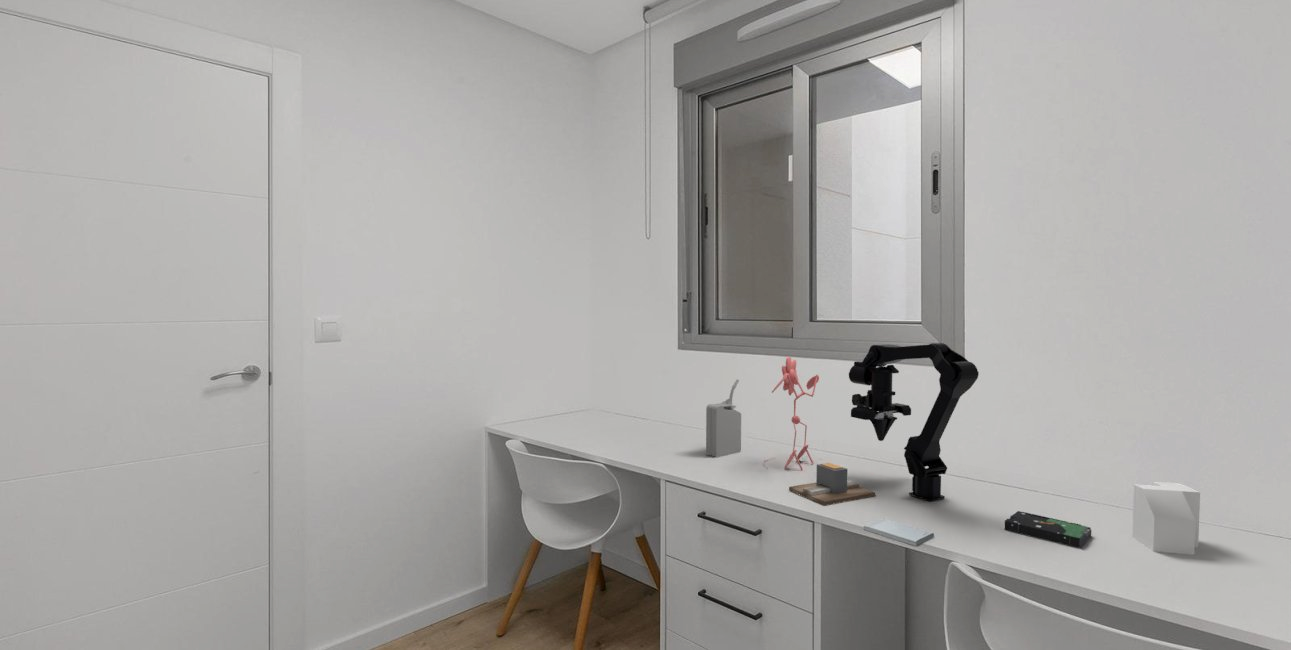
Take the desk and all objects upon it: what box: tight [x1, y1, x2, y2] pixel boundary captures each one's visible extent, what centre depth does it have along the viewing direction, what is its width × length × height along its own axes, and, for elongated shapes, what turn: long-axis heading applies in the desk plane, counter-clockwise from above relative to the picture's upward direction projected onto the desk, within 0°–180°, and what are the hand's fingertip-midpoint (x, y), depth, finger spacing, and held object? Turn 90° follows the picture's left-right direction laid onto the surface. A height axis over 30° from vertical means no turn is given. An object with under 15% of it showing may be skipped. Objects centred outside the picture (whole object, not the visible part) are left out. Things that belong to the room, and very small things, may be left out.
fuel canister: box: [705, 379, 742, 458], centre depth 212 cm, size 15×5×25 cm, turn 130°
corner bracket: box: [1131, 481, 1201, 555], centre depth 133 cm, size 11×11×12 cm
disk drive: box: [1004, 510, 1092, 549], centre depth 139 cm, size 10×3×15 cm
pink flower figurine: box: [762, 356, 823, 471], centre depth 198 cm, size 15×26×35 cm, turn 143°
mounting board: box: [788, 479, 877, 506], centre depth 168 cm, size 14×18×2 cm
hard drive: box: [863, 517, 935, 547], centre depth 139 cm, size 2×8×12 cm
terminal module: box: [815, 462, 848, 494], centre depth 168 cm, size 7×4×7 cm, turn 26°
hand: (880, 440), depth 179 cm, fingers closed
